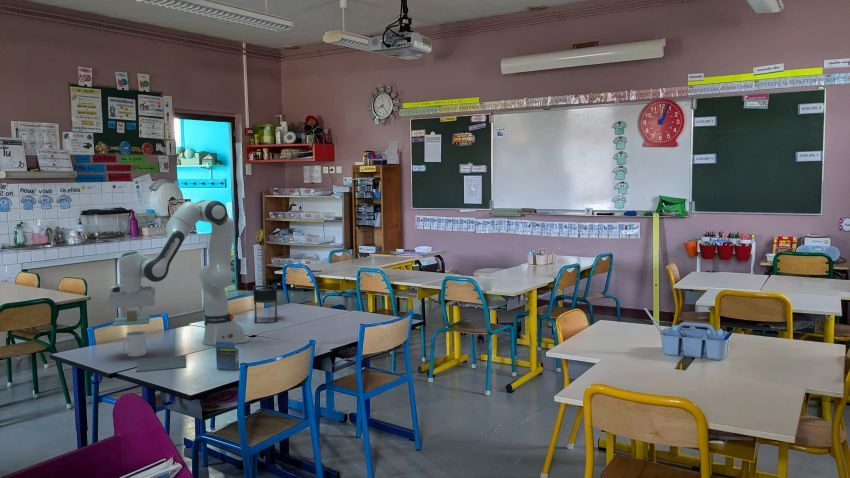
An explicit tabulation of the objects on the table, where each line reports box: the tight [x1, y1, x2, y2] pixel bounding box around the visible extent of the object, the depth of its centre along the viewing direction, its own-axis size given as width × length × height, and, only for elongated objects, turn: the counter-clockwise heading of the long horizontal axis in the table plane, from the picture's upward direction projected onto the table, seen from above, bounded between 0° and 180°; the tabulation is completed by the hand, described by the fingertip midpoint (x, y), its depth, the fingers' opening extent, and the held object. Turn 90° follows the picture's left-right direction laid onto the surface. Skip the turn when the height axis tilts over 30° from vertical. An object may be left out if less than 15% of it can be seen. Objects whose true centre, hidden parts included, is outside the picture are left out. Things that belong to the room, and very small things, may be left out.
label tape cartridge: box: [215, 342, 240, 371], centre depth 285 cm, size 9×4×12 cm, turn 81°
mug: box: [121, 330, 147, 358], centre depth 307 cm, size 12×8×10 cm
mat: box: [135, 354, 187, 373], centre depth 293 cm, size 20×20×1 cm
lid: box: [112, 310, 151, 327], centre depth 306 cm, size 15×15×5 cm
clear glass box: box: [252, 284, 278, 324], centre depth 384 cm, size 13×17×22 cm
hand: (131, 316), depth 306 cm, fingers closed on lid, 4 cm apart
